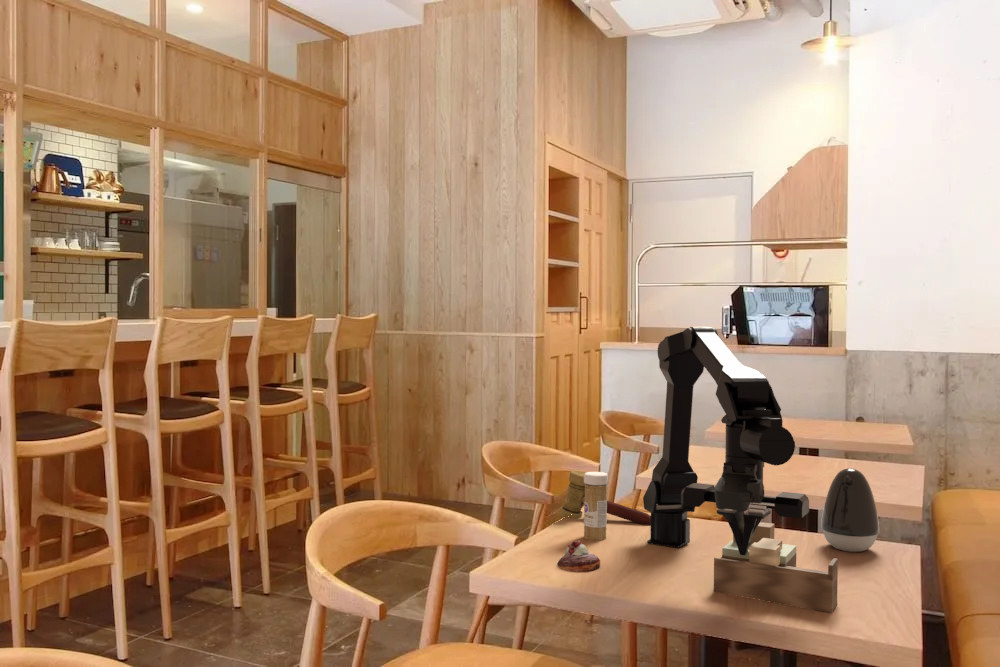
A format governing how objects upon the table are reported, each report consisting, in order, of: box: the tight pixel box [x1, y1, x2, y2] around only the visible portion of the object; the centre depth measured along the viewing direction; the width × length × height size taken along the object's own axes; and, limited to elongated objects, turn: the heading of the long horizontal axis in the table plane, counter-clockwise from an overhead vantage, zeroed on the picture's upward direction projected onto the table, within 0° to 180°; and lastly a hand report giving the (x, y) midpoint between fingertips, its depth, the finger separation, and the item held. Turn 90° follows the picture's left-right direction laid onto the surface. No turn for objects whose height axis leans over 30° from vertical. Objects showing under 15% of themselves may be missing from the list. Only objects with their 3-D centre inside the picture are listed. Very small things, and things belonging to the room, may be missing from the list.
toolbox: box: [713, 553, 839, 614], centre depth 140 cm, size 18×12×7 cm
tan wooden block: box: [749, 538, 783, 566], centre depth 138 cm, size 4×7×3 cm, turn 150°
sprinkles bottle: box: [583, 471, 609, 541], centre depth 170 cm, size 5×5×14 cm
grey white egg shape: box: [820, 467, 880, 553], centre depth 166 cm, size 10×10×15 cm
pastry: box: [557, 539, 601, 573], centre depth 151 cm, size 8×8×5 cm
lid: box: [721, 521, 797, 564], centre depth 143 cm, size 10×8×4 cm
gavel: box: [559, 470, 651, 526], centre depth 185 cm, size 21×5×10 cm, turn 70°
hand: (743, 554), depth 138 cm, fingers closed
